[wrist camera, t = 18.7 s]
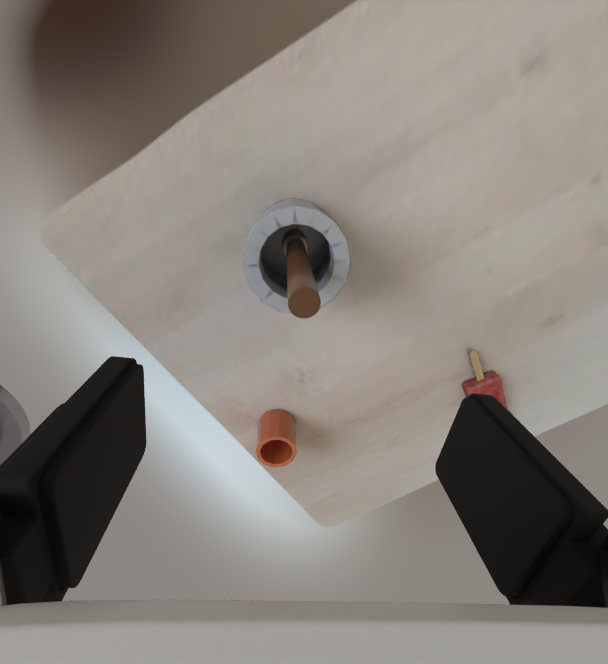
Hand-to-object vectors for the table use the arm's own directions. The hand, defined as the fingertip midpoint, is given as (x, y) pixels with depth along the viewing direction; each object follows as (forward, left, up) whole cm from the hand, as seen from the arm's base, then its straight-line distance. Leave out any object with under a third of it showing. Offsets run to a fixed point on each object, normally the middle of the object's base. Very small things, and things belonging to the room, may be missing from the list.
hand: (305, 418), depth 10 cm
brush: (0, +1, -29) cm, 29 cm away
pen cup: (+19, -17, -30) cm, 39 cm away
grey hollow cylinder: (0, 0, -30) cm, 30 cm away
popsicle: (+32, +9, -30) cm, 45 cm away
